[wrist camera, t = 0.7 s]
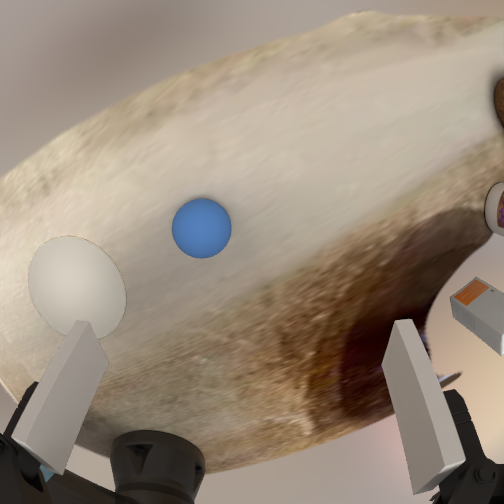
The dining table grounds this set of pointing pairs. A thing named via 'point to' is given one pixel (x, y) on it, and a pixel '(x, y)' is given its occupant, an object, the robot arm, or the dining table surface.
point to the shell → (500, 100)
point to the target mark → (76, 286)
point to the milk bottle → (495, 209)
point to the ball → (201, 228)
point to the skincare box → (481, 312)
